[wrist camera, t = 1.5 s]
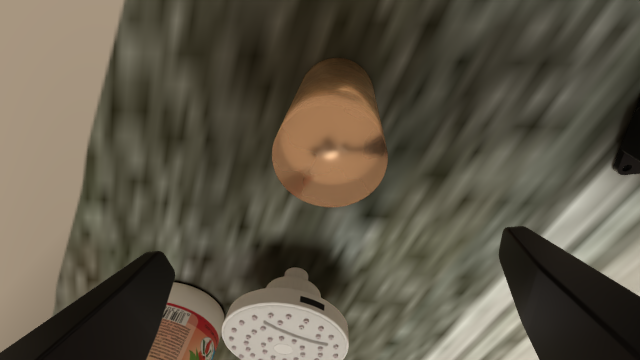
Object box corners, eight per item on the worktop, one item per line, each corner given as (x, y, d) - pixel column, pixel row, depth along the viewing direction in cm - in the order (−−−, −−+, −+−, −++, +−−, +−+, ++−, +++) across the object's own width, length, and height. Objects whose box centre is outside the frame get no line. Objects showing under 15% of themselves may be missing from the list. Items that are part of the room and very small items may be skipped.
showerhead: (199, 368, 24) (240, 299, 18) (230, 289, 30) (267, 220, 25) (309, 402, 25) (374, 348, 20) (317, 321, 31) (368, 263, 26)
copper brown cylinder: (370, 52, 17) (384, 97, 10) (376, 126, 19) (390, 202, 13) (292, 64, 18) (258, 114, 11) (307, 135, 20) (286, 211, 14)
